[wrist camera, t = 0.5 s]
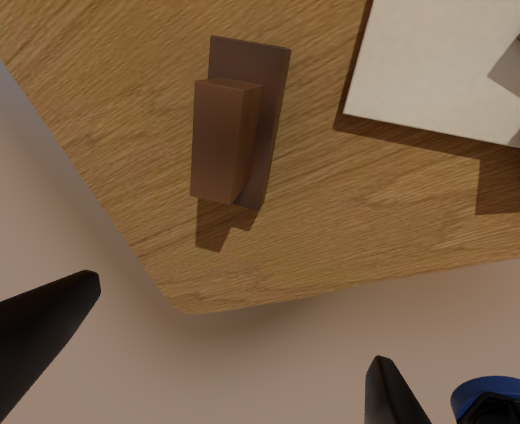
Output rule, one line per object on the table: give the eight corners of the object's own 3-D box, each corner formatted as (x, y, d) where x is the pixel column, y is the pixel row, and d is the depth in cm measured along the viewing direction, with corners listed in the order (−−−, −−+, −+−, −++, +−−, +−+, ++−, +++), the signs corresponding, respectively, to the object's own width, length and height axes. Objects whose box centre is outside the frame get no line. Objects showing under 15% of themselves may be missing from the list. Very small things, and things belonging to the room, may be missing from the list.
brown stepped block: (268, 194, 23) (243, 240, 17) (215, 181, 24) (172, 222, 18) (294, 50, 18) (272, 43, 12) (227, 39, 19) (175, 26, 13)
